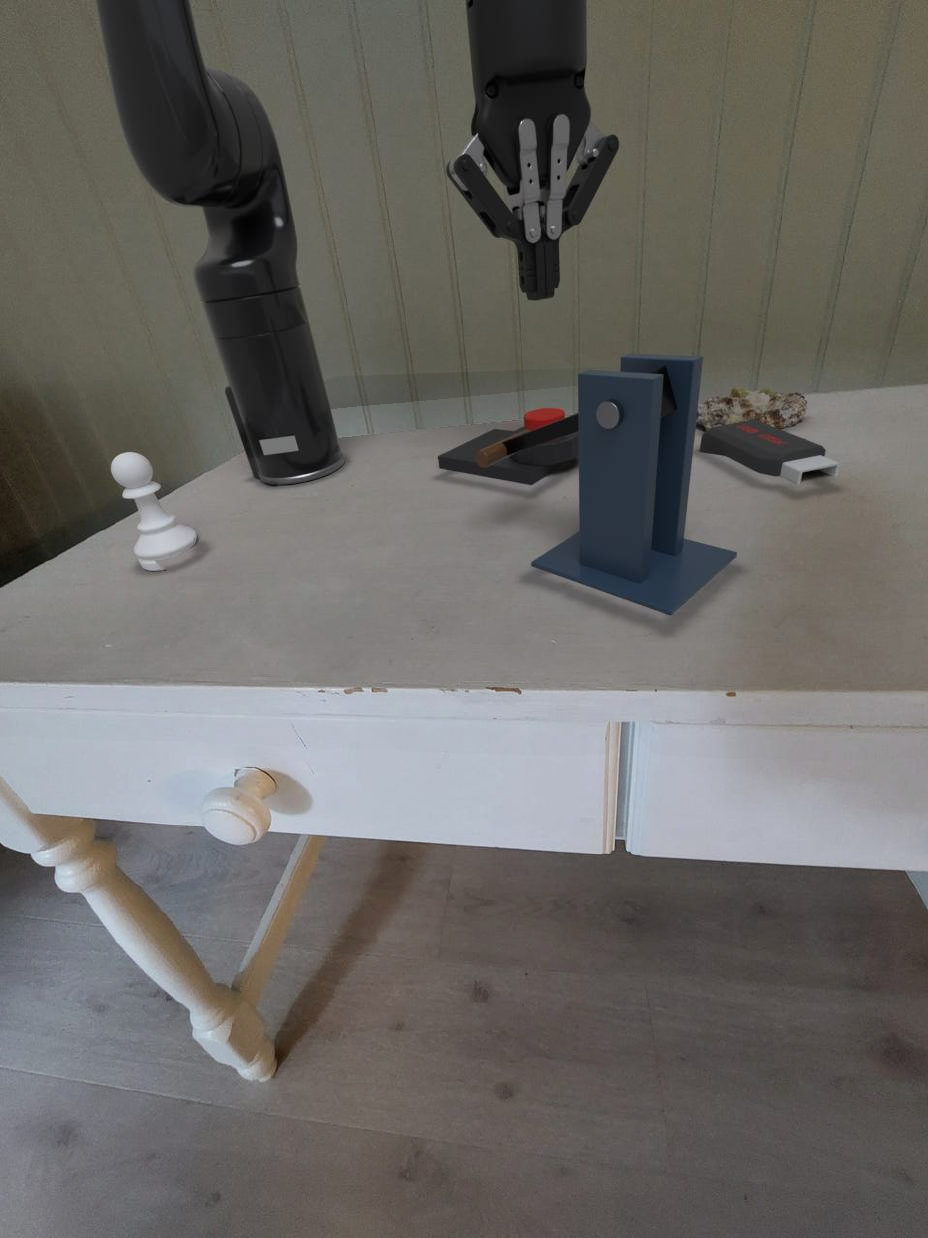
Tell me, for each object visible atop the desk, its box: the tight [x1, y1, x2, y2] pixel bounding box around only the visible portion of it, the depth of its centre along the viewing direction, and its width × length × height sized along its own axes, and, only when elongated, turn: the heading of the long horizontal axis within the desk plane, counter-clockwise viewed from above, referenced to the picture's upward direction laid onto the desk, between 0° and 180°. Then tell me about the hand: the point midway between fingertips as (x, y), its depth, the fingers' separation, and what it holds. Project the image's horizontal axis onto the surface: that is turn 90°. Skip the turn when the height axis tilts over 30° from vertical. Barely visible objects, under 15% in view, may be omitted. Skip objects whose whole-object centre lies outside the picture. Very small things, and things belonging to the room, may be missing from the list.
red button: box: [523, 407, 566, 431], centre depth 50 cm, size 4×4×2 cm
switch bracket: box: [530, 353, 738, 616], centre depth 33 cm, size 10×8×13 cm
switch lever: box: [475, 365, 677, 468], centre depth 35 cm, size 13×5×2 cm, turn 45°
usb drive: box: [699, 420, 841, 485], centre depth 48 cm, size 5×12×3 cm, turn 11°
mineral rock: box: [696, 385, 808, 432], centre depth 57 cm, size 11×4×8 cm
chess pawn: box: [110, 451, 198, 572], centre depth 46 cm, size 5×5×9 cm
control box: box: [437, 426, 579, 486], centre depth 54 cm, size 13×9×4 cm
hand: (540, 298), depth 45 cm, fingers closed
